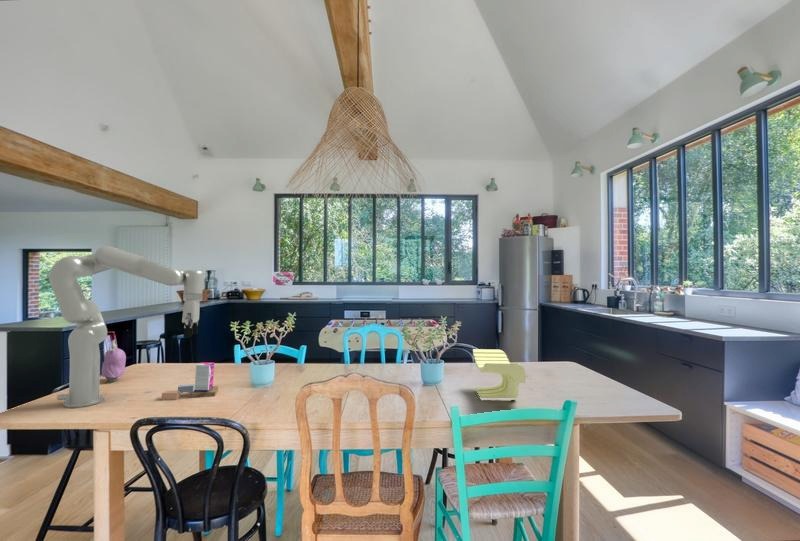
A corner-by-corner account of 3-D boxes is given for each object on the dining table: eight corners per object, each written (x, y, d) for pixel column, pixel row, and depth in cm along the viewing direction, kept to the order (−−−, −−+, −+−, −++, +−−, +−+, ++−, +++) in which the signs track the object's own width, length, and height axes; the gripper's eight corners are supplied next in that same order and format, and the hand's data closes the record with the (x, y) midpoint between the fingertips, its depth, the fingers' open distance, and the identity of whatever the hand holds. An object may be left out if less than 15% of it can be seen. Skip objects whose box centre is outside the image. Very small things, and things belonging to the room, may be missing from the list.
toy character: (103, 379, 189) (104, 339, 189) (127, 376, 193) (128, 337, 193) (95, 385, 178) (96, 343, 178) (122, 382, 182) (123, 341, 182)
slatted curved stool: (525, 408, 150) (525, 363, 150) (485, 407, 150) (485, 363, 151) (506, 386, 180) (506, 349, 180) (472, 386, 180) (472, 349, 181)
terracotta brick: (161, 400, 157) (161, 393, 158) (165, 398, 160) (165, 391, 160) (176, 399, 158) (176, 392, 158) (180, 397, 161) (180, 390, 161)
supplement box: (208, 391, 163) (209, 364, 164) (194, 391, 162) (195, 364, 163) (213, 387, 169) (214, 362, 169) (199, 388, 168) (200, 362, 169)
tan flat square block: (191, 399, 160) (191, 393, 160) (196, 393, 169) (196, 387, 169) (214, 397, 163) (214, 392, 163) (218, 391, 171) (218, 386, 171)
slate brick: (177, 393, 167) (177, 386, 167) (179, 391, 169) (179, 385, 170) (192, 392, 168) (193, 385, 168) (194, 390, 171) (194, 384, 171)
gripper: (188, 296, 176) (186, 333, 175) (177, 298, 159) (175, 338, 159) (206, 296, 178) (204, 333, 177) (197, 298, 161) (195, 338, 161)
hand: (190, 335), depth 168 cm, fingers open, 9 cm apart
